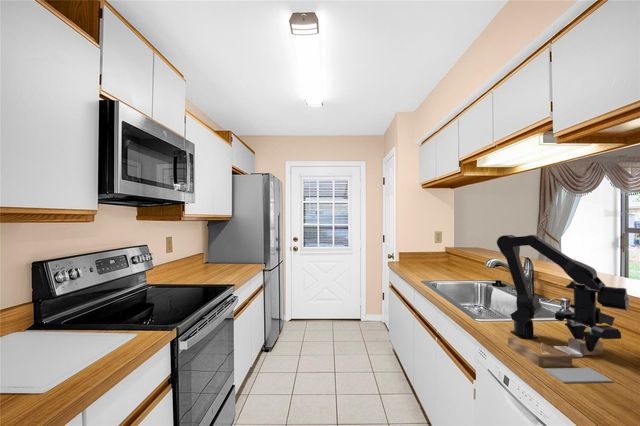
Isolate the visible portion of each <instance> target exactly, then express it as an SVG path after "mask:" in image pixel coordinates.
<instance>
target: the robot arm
mask: <svg viewBox="0 0 640 426" xmlns="http://www.w3.org/2000/svg"><path fill="white" fill-rule="evenodd" d="M496 245H497V247H498V249H499V251H500V253H501V254H502V255H503V257H504V258H505V259H506V262H507V266H508V270H509V272H510V275H511V279H512V283H513V285H514V286H513V287H514V289H515V292H516V301H515V302H516V303H515V304H516V310H515V311H513V312H512V313H511V314H510V317H511V320H512V321H513V330H510V333H511V334H513V335H514V336H516V337H519V338H520V339H538V336H537V335H535V334H534V333H535V332H534V331H535V330H534V329H535V328H534V322H533V320H534V319H535V317H537V315H539V314H540V313H541V311H542V309H541V308H542V307H543V305H542V304H541V302H540V298H539V297H540V296H534V294H532V292H531V289H530V286H529V283H528V279H527V277H526V274H525V269H524V267H523V263H522V261H521V258H520V252H521V248H520V247H524V246H525V247H526V246H529V247H531V248H532V249H534V250H535V251H536V252H538V253H540V254H541V255H543V256H544V257H545V258H547V259H548V260H550V261H551V262H553V263H554V264H556V265H558V266H559V267H560V268H561V269H562V270H563V271H564V272H565V274H566V275H567V276H568V277H569V278H570V279H572V281H570V283H569V284H568V285H565V288H566V289H572V290H573V295H572V297H573V303H572V304H571V303H570V304H569V305H570V308H571V309H573V312H572V311H569V310H566V311H565V310H563V311H562V310H561V311H560V310H559V311H558V310H557V311H556V312H555V313H554V319H555V320H556V321H559V322H563V321H565V320H566V323H564V326H566V328H567V329H568V330H569V332H570V334H571V335H572V337H573V339H585V342H586V346H587V349H588V351H589V352H592V351H593V349H594V347H595V345H596V343H597V342H598V341H600V339H602V340H621V339H622V331H620V330H619V328H615V327H614V326H613V324H614V322H615V319H616V318H615V316H612V315H610V314H606V313H603V312H601V308H600V307H597V303H598V304H599V305H601V307H604V308H609V309H616V310H620V311H621V310H622V311H625V312H628V310H629V307H630V306H629V305H630V298H629V295H628V292H627V288H625V287H613V286H606V284H605V283H604V282H603V281H602V280H601V279H600V278H599V276H598V273H597V270H596V269H595V268H594V267H592V266H590V265H588V264H585V263H583V262H582V261H578V260H576V259H574V258H571V257H569V256H568V255H566V254H565V253H563V252H562V251H561V250H559V249H558V248H555V247H554V246H553V245H551V244H549V243H548V242H546V241H544V240H543V239H542V238H540V237H539V236H538V235H536V234H529V235H525V236H524V235H522V236H516V235H513V234H507V235H506V234H505V235H501V236H499V237H498V238H497V240H496ZM604 324H606V325H604ZM586 329H588V331H586Z"/></svg>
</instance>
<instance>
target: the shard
mask: <svg viewBox="0 0 640 426" xmlns="http://www.w3.org/2000/svg"><path fill="white" fill-rule="evenodd" d="M540 352H541V354H567V353H565V352H562V351H561V350H559V349H556V348H554V346H552V345H549V344H546V343H544V342H542V341H541V342H540Z"/></svg>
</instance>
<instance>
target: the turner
mask: <svg viewBox="0 0 640 426" xmlns="http://www.w3.org/2000/svg"><path fill="white" fill-rule="evenodd" d="M567 339H568V341H567V342H568V345H553V347H554V348H556V349H559V350H561V351H562V352H565V353H567V354H569V355H571V356H572V358H583V357H585V356H587V355H588V356H589V355H590V356H591V355H592V356H593V355H595V356H598V355H604V342H603V341H600V340H598V342H597V343H596V345H595V347H594V349H593V351H592V352H589V351H588V349H587V346H586V342H585V338H584V339H575V338H574V337H573V338H572V337H568V338H567Z"/></svg>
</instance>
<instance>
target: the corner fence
mask: <svg viewBox="0 0 640 426" xmlns="http://www.w3.org/2000/svg"><path fill="white" fill-rule="evenodd" d="M507 346H508V347H509V348H510V349H512V350H514V351H515V352H517V353H518V354H520V355H521V356H523V358H525V359H527V360H529V362H532V364H534V365H536V366H537V367H572V366H573V357H572V356H571V355H569V354H542V353H541V354H540V353H538V352H537V351H535V350H533V349H532V348H530V347H528V346H527V345H525V344H523V343H522V342H520V341H519V340H517V339H515V338H513V337H511V336H510V337H507Z"/></svg>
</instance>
